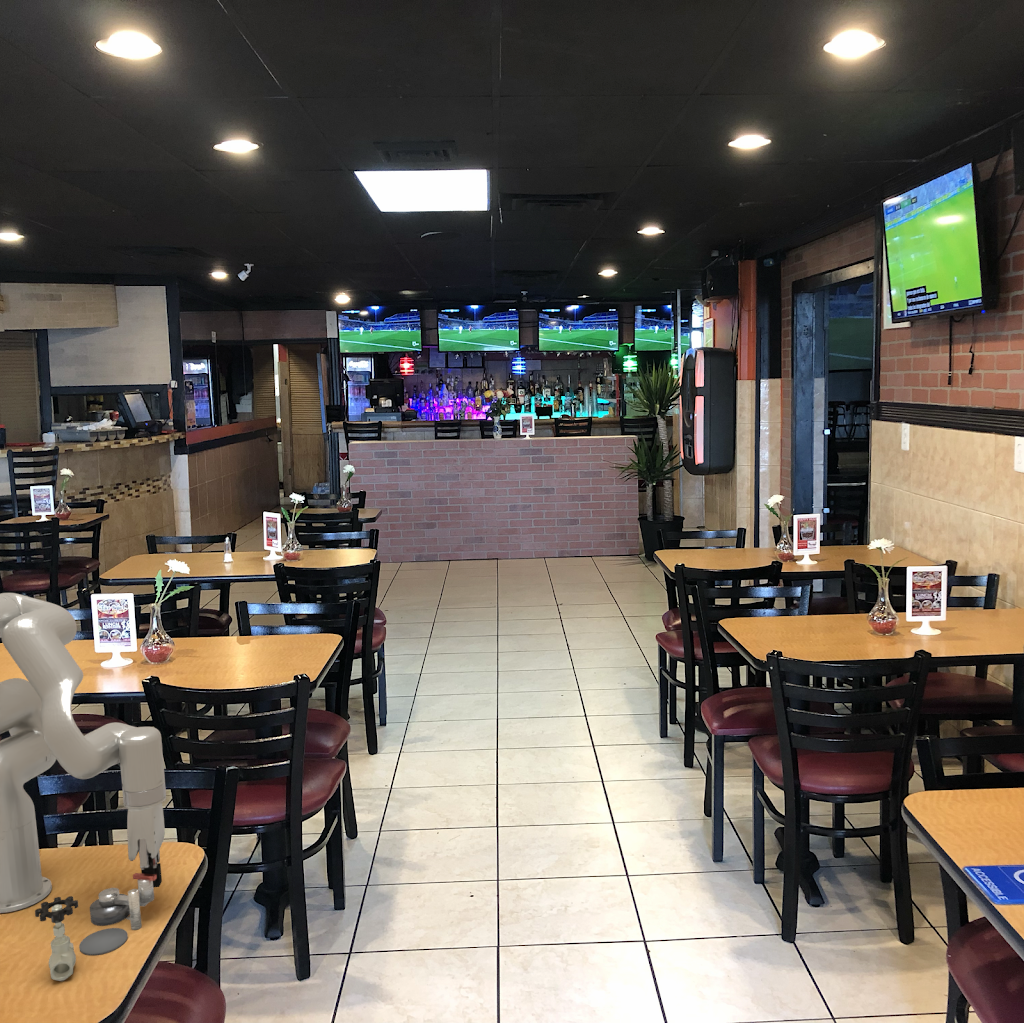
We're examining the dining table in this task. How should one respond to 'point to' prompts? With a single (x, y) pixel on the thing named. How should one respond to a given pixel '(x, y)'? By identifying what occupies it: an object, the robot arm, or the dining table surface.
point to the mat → (103, 941)
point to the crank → (113, 896)
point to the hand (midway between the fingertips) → (152, 885)
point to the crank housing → (118, 912)
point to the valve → (59, 937)
